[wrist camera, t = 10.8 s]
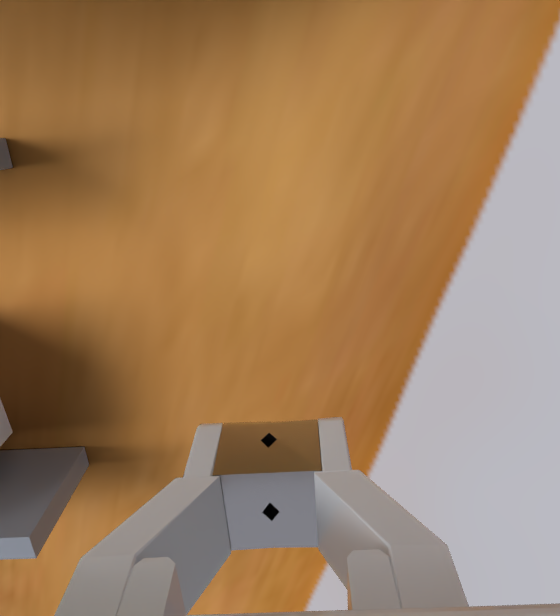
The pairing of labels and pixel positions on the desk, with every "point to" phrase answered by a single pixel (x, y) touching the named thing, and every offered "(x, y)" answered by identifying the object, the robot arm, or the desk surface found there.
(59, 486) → the box
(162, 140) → the desk surface
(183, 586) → the robot arm
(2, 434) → the white cube
